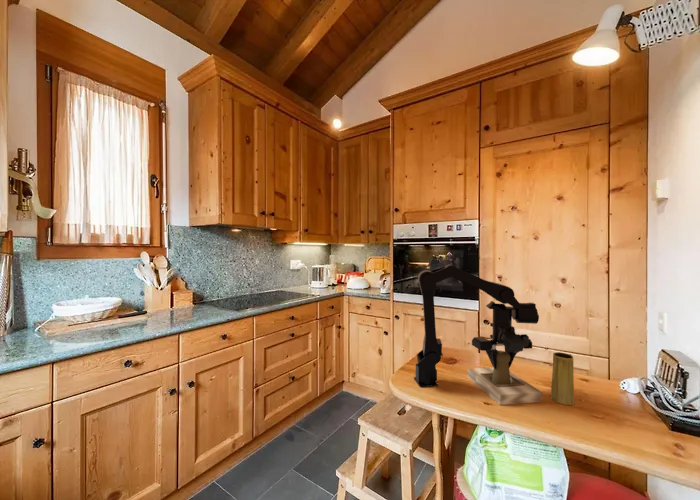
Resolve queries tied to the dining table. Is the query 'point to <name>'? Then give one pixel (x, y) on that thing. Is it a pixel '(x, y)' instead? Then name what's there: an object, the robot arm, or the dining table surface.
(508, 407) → the dining table surface
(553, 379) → the vase
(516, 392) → the socket board
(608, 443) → the dining table surface
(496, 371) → the olive tall rounded piece
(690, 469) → the dining table surface
